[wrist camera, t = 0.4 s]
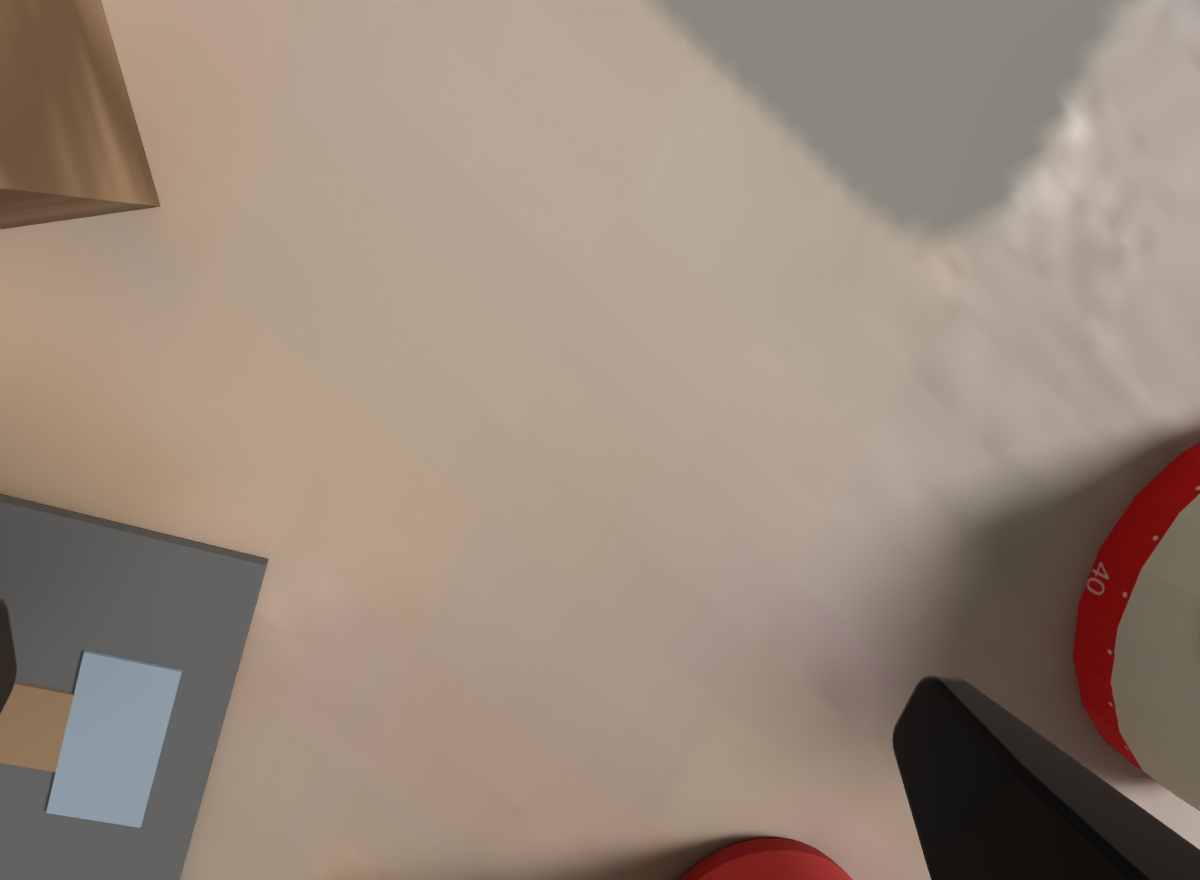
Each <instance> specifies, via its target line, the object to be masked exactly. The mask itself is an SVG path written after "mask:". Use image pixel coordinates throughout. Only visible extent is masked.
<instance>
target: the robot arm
mask: <svg viewBox="0 0 1200 880" xmlns="http://www.w3.org/2000/svg"><path fill="white" fill-rule="evenodd" d="M16 675H17V659H16V653H15V647H14V641H13V634H12V628H11V622H10V616H9V610H8V607H7V604H6V602H5V601H4V600H3V599H2V598H1V597H0V714H1V712H2V710H3V708H4V706H5V704H6V702H7V700H8V698H9V696H10V694H11V692H12V690H13V687H14V684H15V680H16ZM893 749H894V753H895V757H896V760H897V764H898V767H899V771H900V774H901V778H902V781H903V784H904V788H905V791H906V795H907V798H908V802H909V805H910V809H911V812H912V816H913V819H914V823H915V826H916V829H917V833H918V836H919V840H920V843H921V847H922V850H923V854H924V857H925V861H926V864H927V867H928V871H929V874H930V877H931V880H1200V850H1199V849H1198V848H1196V847H1195V846H1194V845H1192V844H1191V843H1190V842H1188V841H1187V840H1185V839H1184V838H1183V837H1181V836H1180V835H1178V834H1177V833H1176V832H1174V831H1173V830H1171V829H1170V828H1169V827H1167V826H1166V825H1165V824H1163V823H1162V822H1160V821H1159V820H1158V819H1156V818H1155V817H1153V816H1152V815H1151V814H1149V813H1148V812H1147V811H1145V810H1144V809H1142V808H1141V807H1140V806H1138V805H1137V804H1135V803H1134V802H1133V801H1131V800H1130V799H1129V798H1127V797H1126V796H1124V795H1123V794H1122V793H1120V792H1119V791H1117V790H1116V789H1115V788H1113V787H1112V786H1111V785H1109V784H1108V783H1106V782H1105V781H1104V780H1102V779H1101V778H1099V777H1098V776H1097V775H1095V774H1094V773H1093V772H1091V771H1090V770H1088V769H1087V768H1086V767H1084V766H1083V765H1081V764H1080V763H1079V762H1077V761H1076V760H1075V759H1073V758H1072V757H1070V756H1069V755H1068V754H1066V753H1065V752H1063V751H1062V750H1061V749H1059V748H1058V747H1057V746H1055V745H1054V744H1052V743H1051V742H1050V741H1048V740H1047V739H1045V738H1044V737H1043V736H1041V735H1040V734H1039V733H1037V732H1036V731H1034V730H1033V729H1032V728H1030V727H1029V726H1027V725H1026V724H1025V723H1023V722H1022V721H1021V720H1019V719H1018V718H1016V717H1015V716H1014V715H1012V714H1011V713H1009V712H1008V711H1007V710H1005V709H1004V708H1002V707H1001V706H1000V705H998V704H997V703H996V702H994V701H993V700H991V699H990V698H989V697H987V696H986V695H984V694H983V693H982V692H980V691H979V690H978V689H976V688H975V687H973V686H972V685H971V684H969V683H968V682H966V681H965V680H962V679H960V678H955V677H944V676H926V677H924V678H923V679H921V680H920V681H919V682H918V684H917V685H916V687H915V689H914V691H913V693H912V694H911V696H910V698H909V700H908V702H907V704H906V706H905V708H904V710H903V711H902V713H901V715H900V717H899V719H898V721H897V723H896V725H895V727H894V732H893Z"/></svg>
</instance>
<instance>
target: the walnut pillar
mask: <svg viewBox="0 0 1200 880" xmlns="http://www.w3.org/2000/svg"><path fill="white" fill-rule="evenodd" d="M153 207H160V203H159V200H158V196H157V193H156V189H155V186H154V182H153V179H152V176H151V172H150V169H149V165H148V162H147V158H146V155H145V151H144V148H143V145H142V141H141V138H140V134H139V131H138V127H137V124H136V120H135V117H134V114H133V110H132V107H131V103H130V100H129V96H128V93H127V89H126V86H125V83H124V79H123V76H122V72H121V69H120V65H119V62H118V58H117V55H116V52H115V48H114V45H113V41H112V38H111V34H110V31H109V27H108V24H107V21H106V17H105V14H104V10H103V7H102V3H101V0H0V229H6V228H13V227H20V226H27V225H34V224H41V223H48V222H55V221H62V220H69V219H76V218H83V217H90V216H97V215H104V214H111V213H118V212H125V211H132V210H139V209H146V208H153Z"/></svg>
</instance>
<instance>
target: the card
mask: <svg viewBox="0 0 1200 880" xmlns="http://www.w3.org/2000/svg"><path fill="white" fill-rule="evenodd" d="M267 563H268V559H265V558H261V557H257V556H253V555H249V554H245V553H241V552H237V551H232V550H228V549H224V548H220V547H216V546H212V545H208V544H204V543H199V542H195V541H191V540H187V539H183V538H179V537H175V536H171V535H167V534H162V533H158V532H154V531H150V530H146V529H142V528H138V527H134V526H129V525H125V524H121V523H117V522H113V521H109V520H105V519H101V518H97V517H92V516H88V515H84V514H80V513H76V512H72V511H68V510H64V509H59V508H55V507H51V506H47V505H43V504H39V503H35V502H31V501H26V500H22V499H18V498H14V497H10V496H6V495H2V494H0V597H1V598H2V599H3V600H4V601H5V602H6V604H7V607H8V610H9V616H10V622H11V628H12V634H13V641H14V647H15V653H16V659H17V675H16V680H15V684H14V687H13V690H12V692H11V694H10V696H9V698H8V700H7V702H6V704H5V706H4V708H3V710H2V712H1V714H0V880H179V879H180V875H181V872H182V868H183V865H184V861H185V858H186V854H187V850H188V847H189V843H190V840H191V836H192V832H193V829H194V825H195V822H196V818H197V814H198V811H199V807H200V804H201V800H202V796H203V793H204V789H205V786H206V782H207V778H208V775H209V771H210V768H211V764H212V760H213V757H214V753H215V750H216V746H217V742H218V739H219V735H220V732H221V728H222V724H223V721H224V717H225V714H226V710H227V707H228V703H229V699H230V696H231V692H232V689H233V685H234V681H235V678H236V674H237V671H238V667H239V663H240V660H241V656H242V653H243V649H244V645H245V642H246V638H247V635H248V631H249V627H250V624H251V620H252V617H253V613H254V609H255V606H256V602H257V599H258V595H259V591H260V588H261V584H262V581H263V577H264V573H265V570H266V566H267Z"/></svg>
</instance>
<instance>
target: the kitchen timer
mask: <svg viewBox="0 0 1200 880" xmlns="http://www.w3.org/2000/svg"><path fill="white" fill-rule="evenodd" d="M1073 659H1074V664H1075V669H1076V674H1077V679H1078V684H1079V690H1080V695H1081V700H1082V704H1083V706H1084V708H1085V709H1086V711H1087V713H1088V714H1089V716H1090V717H1091V719H1092V721H1093V722H1094V724H1095V726H1096V727H1097V729H1098V731H1099V732H1100V734H1101V735H1102V737H1103V739H1104V740H1105V742H1107V743H1108V744H1109V745H1111V746H1112V747H1113V748H1114V749H1116V750H1117V751H1118V752H1119V753H1121V754H1122V755H1123V756H1125V757H1126V758H1127V759H1128V760H1130V761H1131V762H1132V763H1133V764H1135V765H1136V766H1137V767H1138V768H1140V769H1141V770H1142V771H1144V772H1145V773H1146V774H1148V775H1149V776H1150V777H1152V778H1153V779H1154V780H1156V781H1157V782H1158V783H1160V784H1161V785H1162V786H1164V787H1165V788H1166V789H1168V790H1169V791H1171V792H1172V793H1173V794H1175V795H1176V796H1177V797H1179V798H1180V799H1182V800H1183V801H1185V802H1186V803H1188V804H1190V805H1191V806H1193V807H1194V808H1196V809H1197V810H1199V811H1200V443H1199V444H1197V445H1195V446H1193V447H1192V448H1190V449H1188V450H1186V451H1185V452H1183V453H1181V454H1180V455H1179V456H1178V457H1177V458H1176V459H1175V460H1174V461H1173V462H1172V463H1171V464H1170V465H1169V466H1168V467H1166V468H1165V469H1164V470H1163V471H1162V472H1161V473H1160V474H1159V475H1158V476H1157V477H1156V478H1155V479H1154V480H1153V481H1151V482H1150V483H1149V484H1148V485H1147V486H1146V487H1145V488H1144V489H1143V490H1142V491H1141V492H1140V493H1139V494H1138V495H1137V496H1135V498H1134V499H1133V501H1132V502H1131V504H1130V505H1129V507H1128V508H1127V510H1126V511H1125V513H1124V514H1123V516H1122V517H1121V519H1120V520H1119V521H1118V523H1117V524H1116V526H1115V527H1114V529H1113V530H1112V532H1111V533H1110V535H1109V536H1108V538H1107V539H1106V541H1105V542H1104V544H1103V545H1102V547H1101V548H1100V550H1099V553H1098V555H1097V558H1096V561H1095V563H1094V566H1093V569H1092V571H1091V574H1090V576H1089V579H1088V582H1087V584H1086V587H1085V589H1084V592H1083V595H1082V597H1081V600H1080V602H1079V608H1078V617H1077V626H1076V636H1075V645H1074V654H1073Z"/></svg>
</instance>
